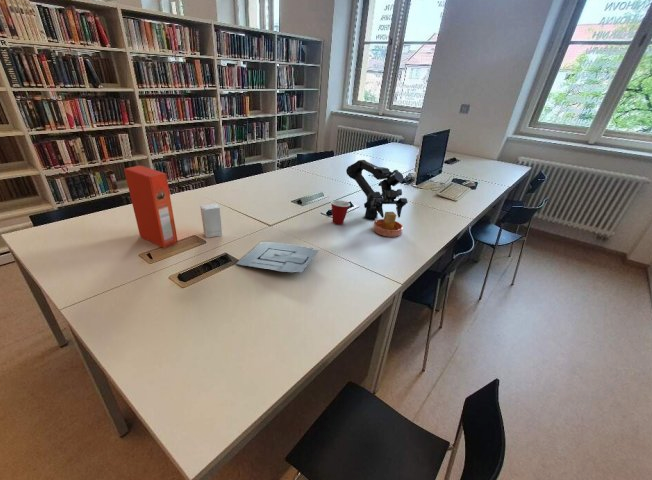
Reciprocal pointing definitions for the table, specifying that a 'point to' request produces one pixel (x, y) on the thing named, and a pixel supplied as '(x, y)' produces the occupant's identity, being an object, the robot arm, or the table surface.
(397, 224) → the bowl
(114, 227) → the table surface
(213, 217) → the cosmetic box
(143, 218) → the file binder
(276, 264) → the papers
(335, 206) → the plastic cup
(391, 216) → the ochre block
